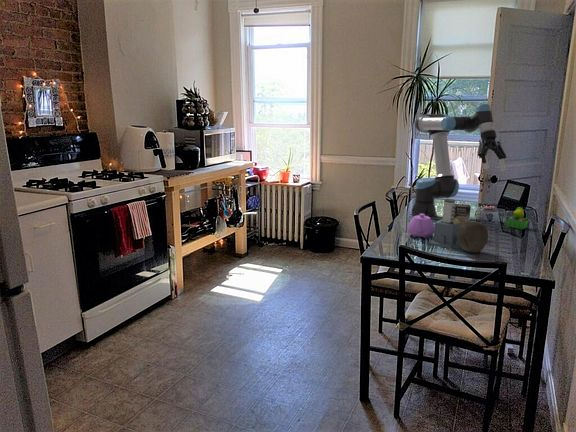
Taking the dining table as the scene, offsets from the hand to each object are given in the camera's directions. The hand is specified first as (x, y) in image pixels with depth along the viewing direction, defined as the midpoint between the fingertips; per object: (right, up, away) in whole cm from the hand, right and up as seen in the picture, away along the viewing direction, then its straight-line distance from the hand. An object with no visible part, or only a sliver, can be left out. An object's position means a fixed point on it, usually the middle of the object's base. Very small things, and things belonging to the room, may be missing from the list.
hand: (495, 170), depth 240 cm
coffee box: (-15, -34, +10) cm, 39 cm away
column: (-27, -36, -5) cm, 46 cm away
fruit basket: (+23, -31, +23) cm, 45 cm away
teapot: (-37, -35, +7) cm, 52 cm away
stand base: (-28, -38, -5) cm, 47 cm away
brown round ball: (-20, -42, -19) cm, 50 cm away
